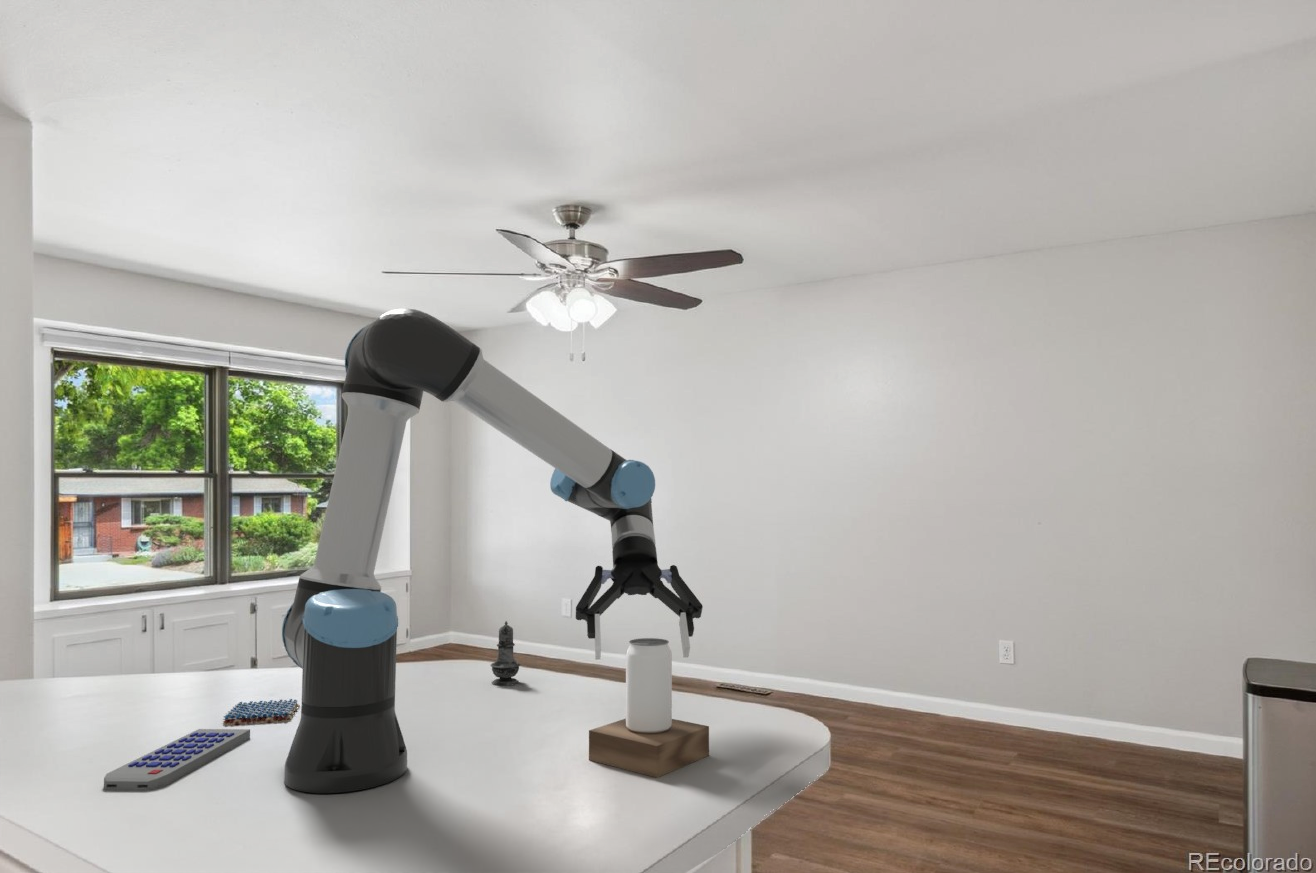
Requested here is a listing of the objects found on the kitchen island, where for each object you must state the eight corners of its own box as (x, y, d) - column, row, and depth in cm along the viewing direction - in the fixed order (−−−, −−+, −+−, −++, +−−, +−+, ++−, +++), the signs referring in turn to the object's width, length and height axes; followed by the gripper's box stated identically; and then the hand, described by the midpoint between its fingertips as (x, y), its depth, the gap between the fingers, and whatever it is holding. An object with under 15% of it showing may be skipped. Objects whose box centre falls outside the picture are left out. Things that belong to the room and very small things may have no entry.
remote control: (250, 742, 126) (251, 727, 126) (157, 793, 103) (158, 775, 103) (198, 741, 126) (199, 726, 126) (94, 792, 103) (95, 774, 104)
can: (617, 730, 116) (617, 642, 116) (639, 719, 121) (640, 636, 122) (658, 736, 112) (658, 646, 113) (679, 725, 118) (679, 639, 119)
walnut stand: (657, 777, 108) (657, 746, 108) (588, 759, 115) (589, 730, 116) (709, 755, 118) (708, 726, 118) (642, 740, 125) (642, 712, 125)
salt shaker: (523, 679, 167) (524, 619, 167) (515, 686, 161) (516, 623, 162) (495, 679, 167) (496, 618, 168) (486, 685, 161) (487, 623, 162)
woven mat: (219, 729, 132) (219, 716, 132) (235, 713, 142) (236, 701, 143) (290, 725, 135) (290, 712, 135) (301, 709, 145) (301, 697, 145)
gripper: (703, 562, 147) (719, 665, 131) (560, 563, 144) (560, 669, 128) (708, 533, 142) (726, 636, 126) (561, 533, 139) (560, 640, 123)
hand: (642, 653), depth 127 cm, fingers open, 13 cm apart
